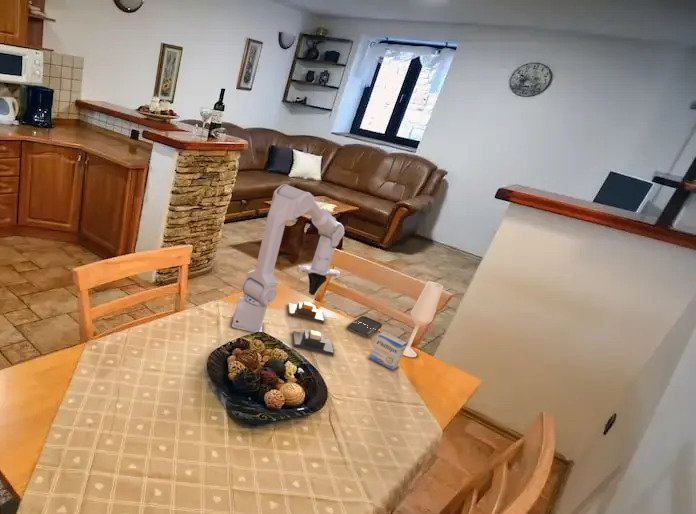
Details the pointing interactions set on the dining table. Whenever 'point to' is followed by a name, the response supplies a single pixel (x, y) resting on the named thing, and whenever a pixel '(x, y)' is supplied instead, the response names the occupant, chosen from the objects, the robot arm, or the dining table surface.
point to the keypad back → (305, 312)
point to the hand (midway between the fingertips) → (311, 293)
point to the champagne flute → (424, 311)
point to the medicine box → (388, 350)
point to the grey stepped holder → (312, 343)
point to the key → (315, 335)
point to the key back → (307, 305)
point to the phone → (364, 326)
